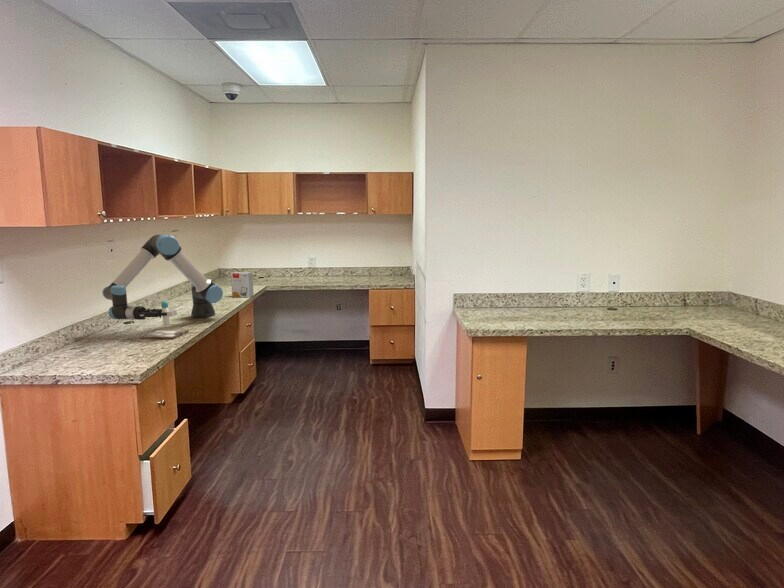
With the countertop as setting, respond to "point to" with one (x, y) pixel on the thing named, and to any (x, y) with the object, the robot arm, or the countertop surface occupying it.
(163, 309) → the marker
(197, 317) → the robot arm
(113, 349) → the countertop surface
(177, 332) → the clipboard
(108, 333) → the countertop surface
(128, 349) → the countertop surface
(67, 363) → the countertop surface
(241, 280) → the hard drive box
